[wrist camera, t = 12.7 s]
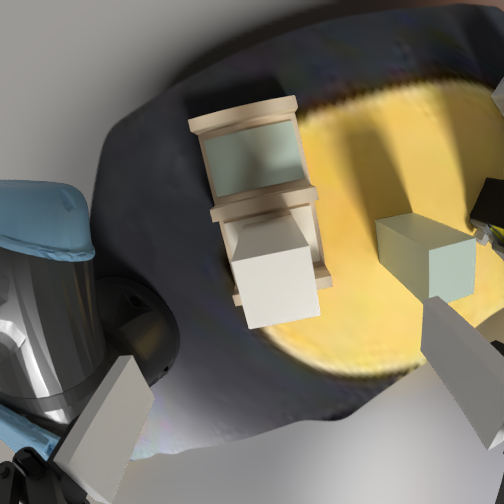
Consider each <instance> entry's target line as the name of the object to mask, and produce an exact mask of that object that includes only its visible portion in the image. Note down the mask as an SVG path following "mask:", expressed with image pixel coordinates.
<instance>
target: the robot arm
mask: <svg viewBox="0 0 504 504" xmlns="http://www.w3.org/2000/svg"><path fill="white" fill-rule="evenodd" d="M94 256H95V248H94V246H93V245H92V242H91V234H90V224H89V214H88V206H87V202H86V200H85V198H84V196H83V194H82V193H81V192H80V191H79V190H78V189H76V188H75V187H73V186H71V185H68V184H64V183H56V182H46V181H30V180H0V439H1V440H2V441H3V442H4V443H5V444H6V445H8V446H9V447H10V448H11V449H12V450H13V451H14V452H16V453H15V455H14V457H13V461H12V462H10V461H5V462H2V463H0V504H19V501H20V502H21V503H22V504H90V503H89V501H88V500H87V499H86V496H87V494H89V495H90V496H91V497H92V498H94V499H95V500H96V501H99V502H103V503H107V504H112V503H113V500H114V497H115V495H116V492H117V490H118V487H119V485H120V482H121V479H122V477H123V474H124V472H125V469H126V467H127V464H128V462H129V459H130V457H131V454H132V452H133V449H134V447H135V444H136V442H137V440H138V437H139V435H140V432H141V430H142V427H143V425H144V423H145V420H146V418H147V416H148V413H149V411H150V408H151V406H152V404H153V401H154V399H155V397H154V396H153V394H152V392H151V390H150V387H151V386H152V385H154V384H155V383H156V382H157V381H158V380H159V379H161V378H162V377H163V376H165V375H166V374H167V373H168V372H169V370H170V369H171V367H172V366H173V364H174V361H175V359H176V357H177V355H178V352H179V347H180V334H179V329H178V326H177V323H176V321H175V318H174V316H173V315H172V313H171V311H170V310H169V308H168V307H167V306H166V304H165V303H164V302H163V301H162V300H161V299H160V298H159V297H158V296H157V295H156V294H155V293H154V292H153V291H151V290H150V289H149V288H147V287H145V286H144V285H142V284H140V283H138V282H136V281H134V280H131V279H128V278H123V277H105V278H101V279H99V280H97V281H95V277H94V268H93V258H94ZM420 350H421V352H422V353H423V354H424V356H425V357H426V359H427V360H428V361H429V363H430V364H431V366H432V367H433V368H434V370H435V371H436V373H437V374H438V375H439V377H440V378H441V380H442V381H443V383H444V384H445V385H446V387H447V388H448V390H449V391H450V393H451V394H452V396H453V397H454V399H455V400H456V402H457V403H458V404H459V406H460V408H461V409H462V411H463V412H464V414H465V415H466V417H467V418H468V420H469V422H470V423H471V425H472V426H473V428H474V430H475V431H476V433H477V435H478V436H479V438H480V439H481V441H482V443H483V444H484V446H485V448H486V449H487V451H488V450H489V449H491V448H493V447H495V446H496V445H498V444H499V443H501V442H502V441H503V440H504V344H503V343H501V342H499V341H497V340H495V341H493V342H491V343H489V342H488V341H487V340H486V339H485V338H484V337H483V336H482V335H481V334H480V333H479V332H478V331H477V330H476V329H475V328H474V327H472V326H471V325H470V324H469V323H468V322H467V321H466V320H465V319H464V318H463V317H462V316H460V315H459V314H458V313H457V312H456V311H455V310H454V309H453V308H452V307H450V306H449V305H448V304H447V303H446V302H445V301H444V300H442V299H441V298H440V297H439V296H438V295H437V296H434V297H431V298H428V299H425V300H424V302H423V324H422V338H421V349H420ZM503 454H504V452H503ZM495 504H504V475H503V478H502V482H501V486H500V489H499V493H498V496H497V499H496V502H495Z"/></svg>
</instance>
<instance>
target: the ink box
mask: <svg viewBox="0 0 504 504" xmlns="http://www.w3.org/2000/svg"><path fill="white" fill-rule="evenodd" d="M491 98H492V100H493V101H494V103H495V104H496V106H497V108H498V109H499V111H500V112H501V114H502V116H503V117H504V77H503V78H502V80H501V81H500V83H499V84H498V86H497V88H496V89H495V90H494V92H493V93H492V95H491Z"/></svg>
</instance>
